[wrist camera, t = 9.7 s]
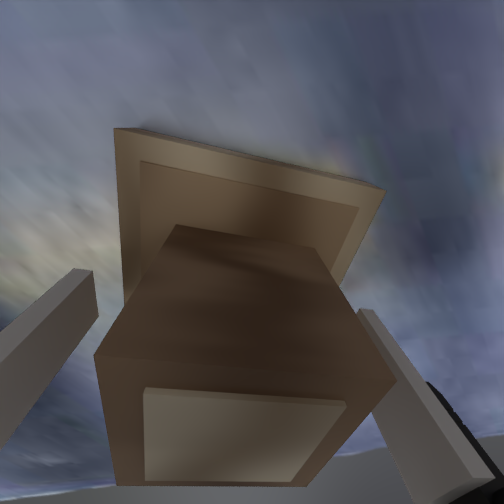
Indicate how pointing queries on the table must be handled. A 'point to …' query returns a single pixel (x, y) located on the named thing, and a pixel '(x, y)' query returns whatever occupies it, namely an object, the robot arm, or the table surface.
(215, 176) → the maple pad
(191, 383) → the walnut block
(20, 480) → the table surface
